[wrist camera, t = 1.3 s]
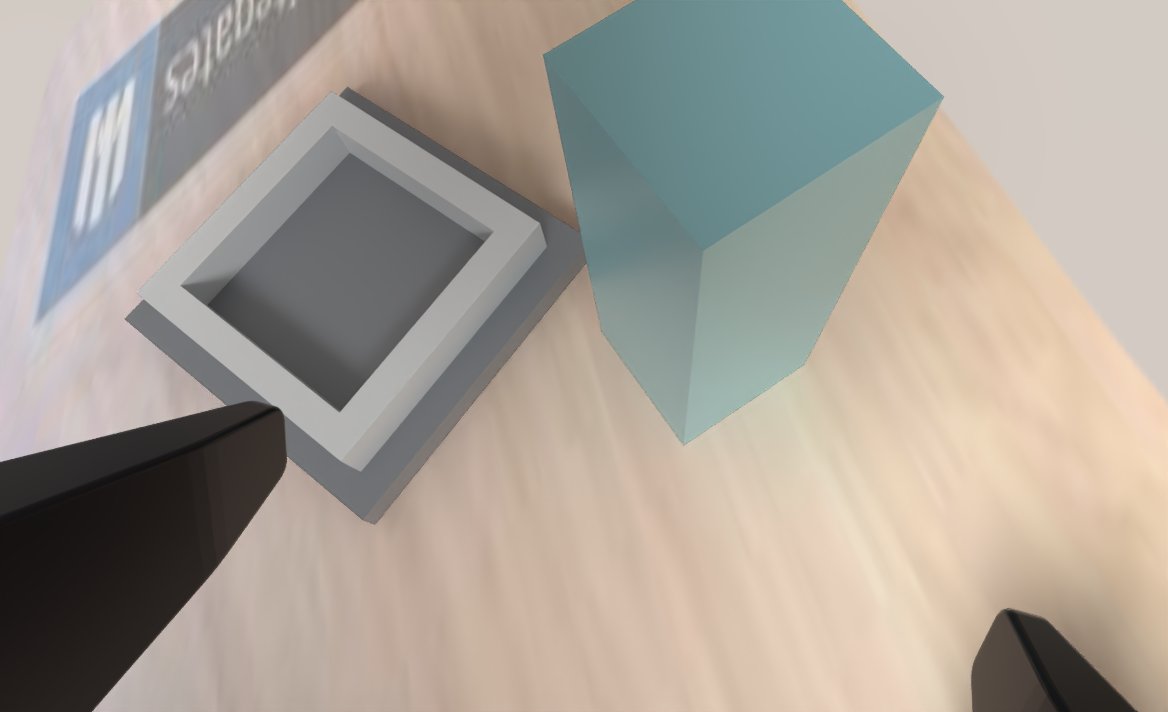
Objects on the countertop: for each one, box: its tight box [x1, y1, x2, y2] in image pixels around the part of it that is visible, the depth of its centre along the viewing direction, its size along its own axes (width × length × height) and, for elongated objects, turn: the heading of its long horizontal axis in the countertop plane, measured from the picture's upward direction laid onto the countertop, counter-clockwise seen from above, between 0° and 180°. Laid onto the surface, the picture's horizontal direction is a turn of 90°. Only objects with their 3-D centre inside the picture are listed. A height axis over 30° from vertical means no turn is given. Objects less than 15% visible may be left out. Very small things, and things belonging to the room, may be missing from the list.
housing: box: [543, 0, 944, 445], centre depth 18 cm, size 4×4×12 cm
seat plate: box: [125, 87, 587, 524], centre depth 25 cm, size 11×11×2 cm
